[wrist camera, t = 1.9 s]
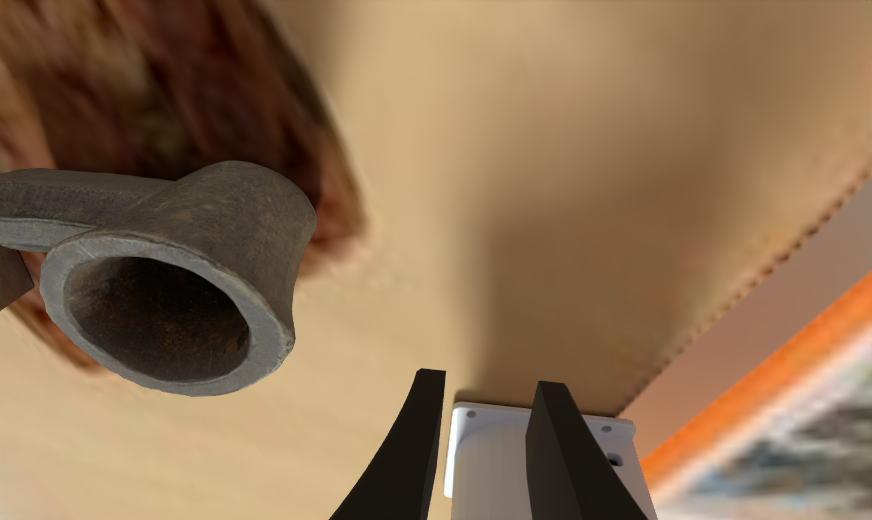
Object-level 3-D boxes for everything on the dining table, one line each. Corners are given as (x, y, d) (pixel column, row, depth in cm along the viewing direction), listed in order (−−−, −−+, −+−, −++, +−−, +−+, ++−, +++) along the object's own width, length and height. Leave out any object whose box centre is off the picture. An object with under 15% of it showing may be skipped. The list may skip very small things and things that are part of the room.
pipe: (37, 119, 19) (-211, 199, 12) (352, 148, 19) (276, 249, 12) (85, 249, 22) (-91, 371, 15) (354, 278, 22) (296, 416, 15)
